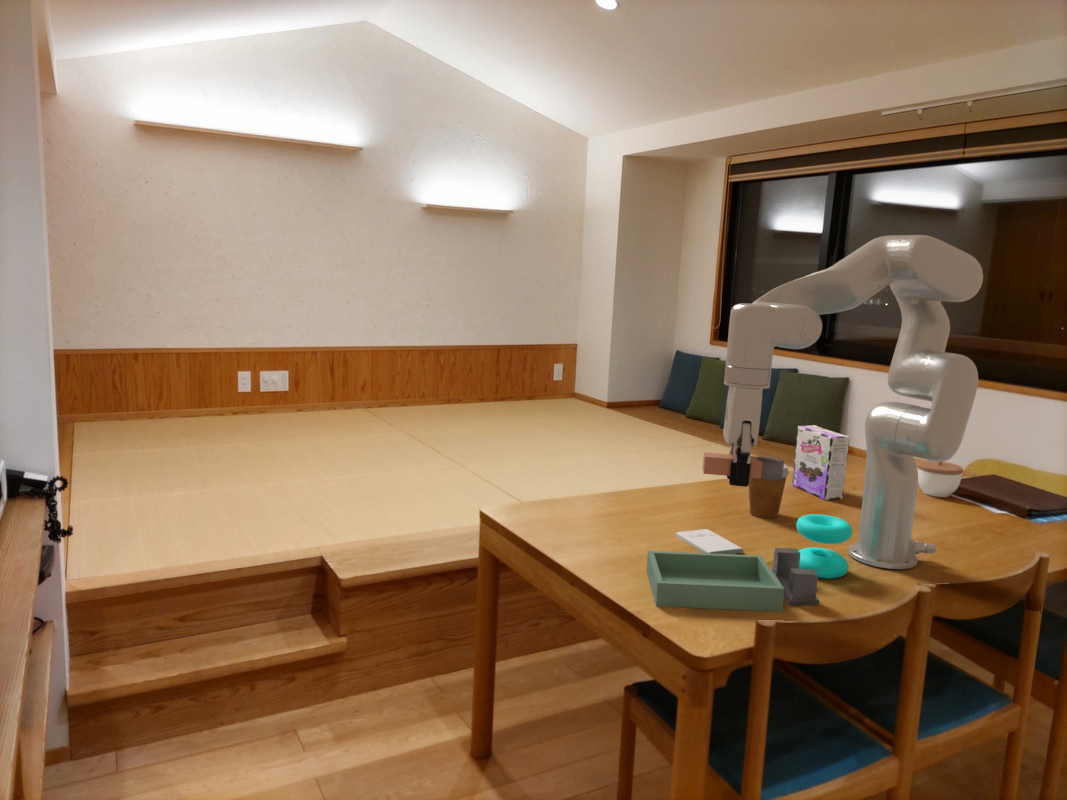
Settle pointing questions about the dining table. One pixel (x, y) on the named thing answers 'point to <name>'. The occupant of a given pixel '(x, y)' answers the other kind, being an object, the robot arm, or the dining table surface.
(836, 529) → the donuts
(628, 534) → the dining table surface
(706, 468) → the strut
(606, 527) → the dining table surface
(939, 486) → the lidded jar
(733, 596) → the tray
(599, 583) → the dining table surface
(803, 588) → the bracket
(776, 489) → the disposable coffee cup
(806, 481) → the candy box
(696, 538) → the external hard drive
